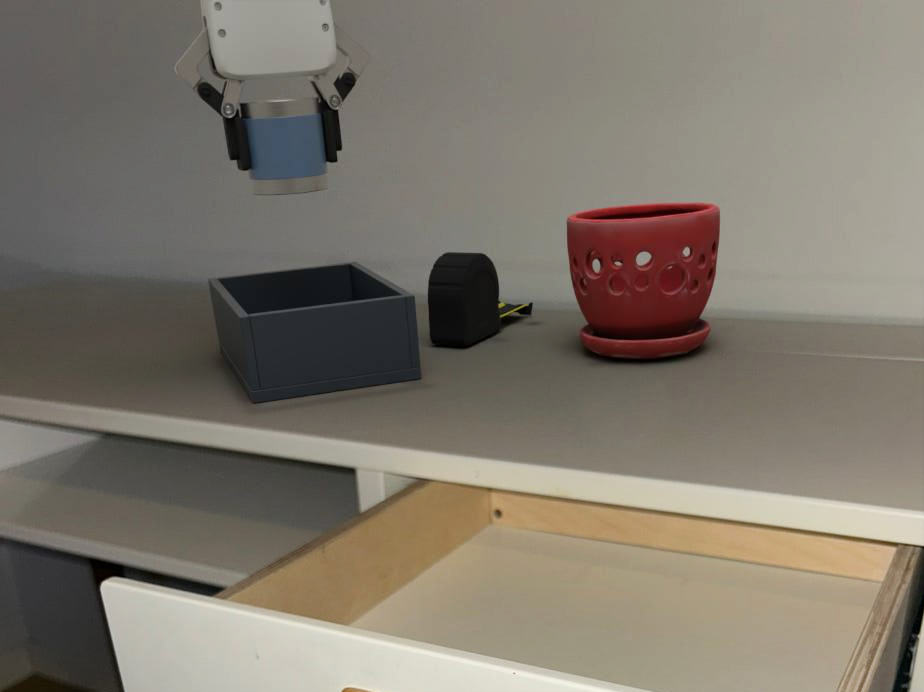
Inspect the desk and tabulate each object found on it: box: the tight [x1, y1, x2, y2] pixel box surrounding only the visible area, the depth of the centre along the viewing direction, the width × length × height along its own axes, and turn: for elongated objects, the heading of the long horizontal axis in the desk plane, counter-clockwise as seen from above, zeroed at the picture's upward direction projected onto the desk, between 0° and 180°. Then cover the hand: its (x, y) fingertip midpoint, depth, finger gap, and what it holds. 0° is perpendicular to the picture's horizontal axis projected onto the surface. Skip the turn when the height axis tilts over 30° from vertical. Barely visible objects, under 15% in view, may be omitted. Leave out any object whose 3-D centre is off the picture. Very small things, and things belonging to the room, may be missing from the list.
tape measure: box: [427, 251, 534, 347], centre depth 105 cm, size 15×4×8 cm, turn 152°
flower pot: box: [566, 202, 721, 360], centre depth 94 cm, size 13×13×12 cm
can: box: [238, 96, 330, 196], centre depth 90 cm, size 7×7×7 cm
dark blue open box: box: [207, 261, 422, 404], centre depth 97 cm, size 15×21×7 cm
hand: (287, 163), depth 91 cm, fingers closed on can, 6 cm apart
